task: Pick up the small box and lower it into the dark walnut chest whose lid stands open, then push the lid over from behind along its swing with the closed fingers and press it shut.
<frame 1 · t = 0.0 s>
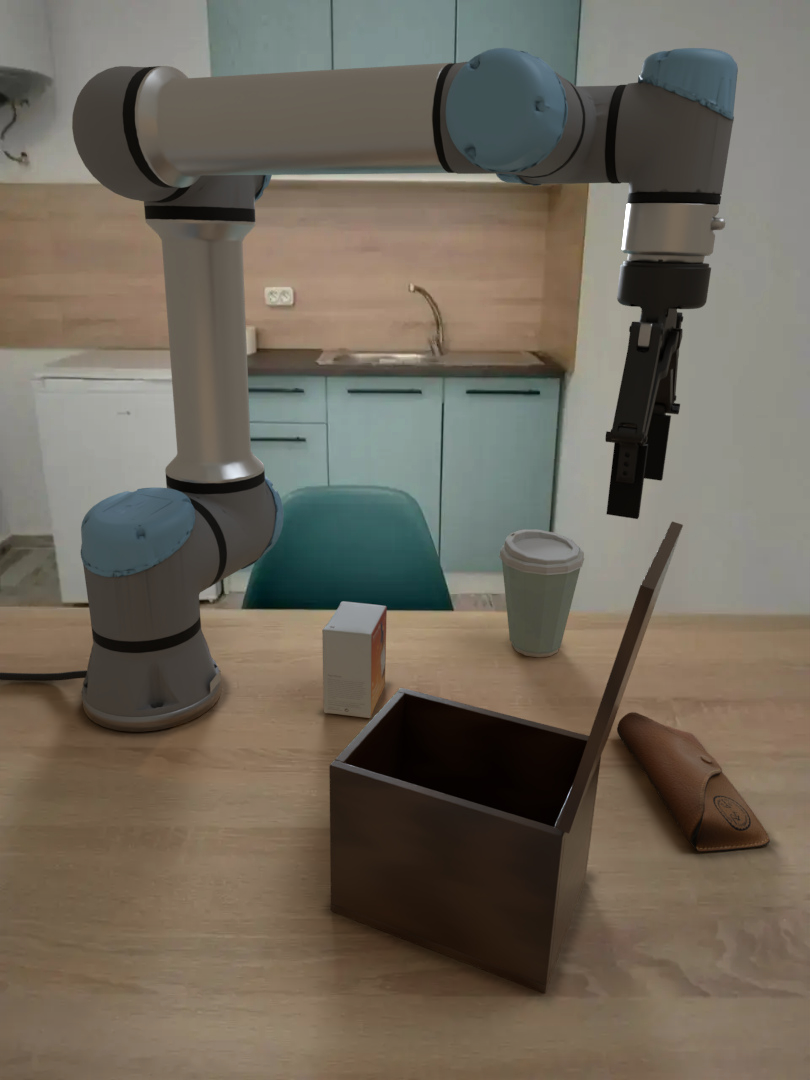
hand: (636, 495, 78), 28 cm above the table, tool pointing down, fingers open, 13 cm apart
lid: (622, 672, 56), point 23 cm above the table, hinge at 100.0°
chest: (461, 894, 68), on the table
small box: (355, 700, 96), on the table
disposable coffee cup: (534, 648, 109), on the table
sunglasses case: (686, 789, 82), on the table
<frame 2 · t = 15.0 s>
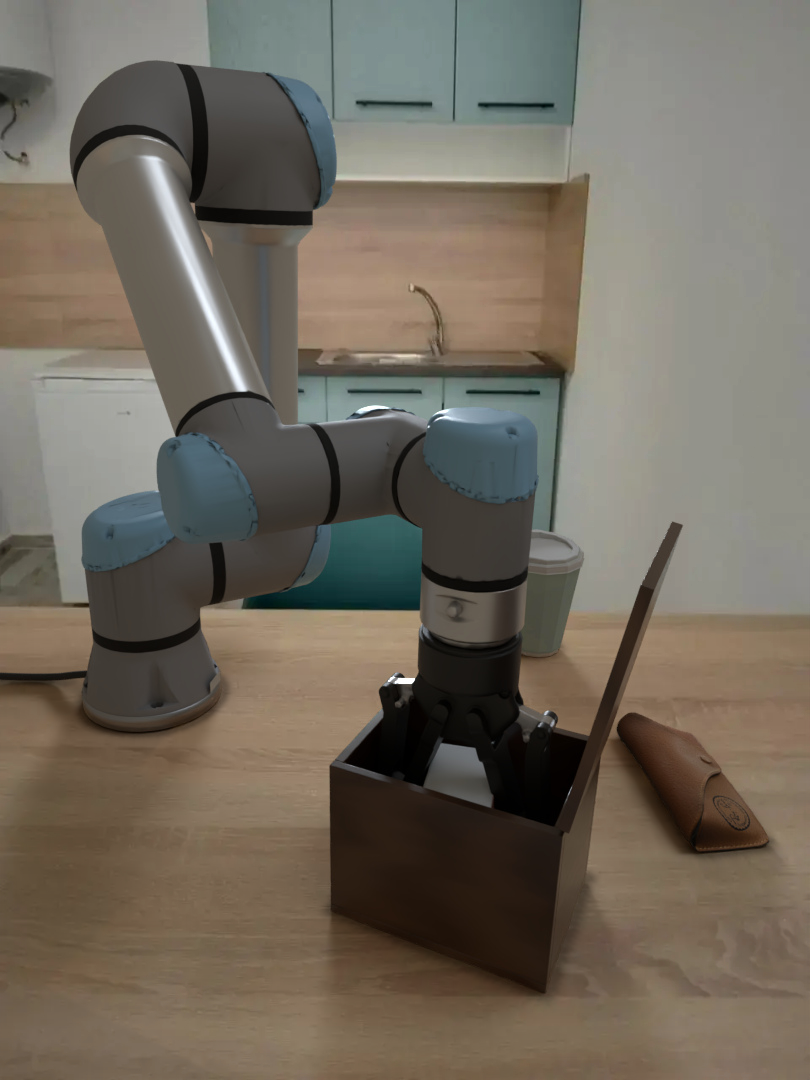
hand: (455, 878, 68), 1 cm above the table, tool pointing down, fingers closed on small box, 6 cm apart
small box: (455, 883, 68), point 1 cm above the table, touching gripper
everything else where it was.
when the fingers open (4 cm above the table, at t = 26.6 s): small box drops 2 cm, resting on chest.
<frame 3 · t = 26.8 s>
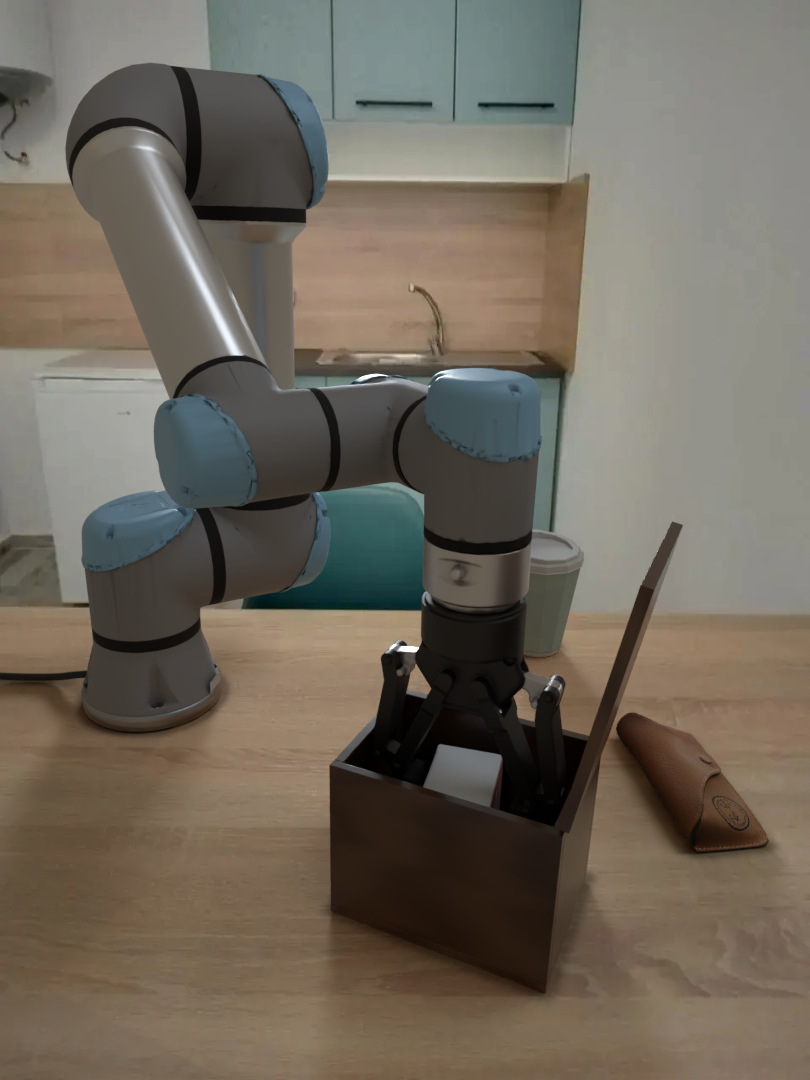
hand: (461, 851, 67), 4 cm above the table, tool pointing down, fingers open, 8 cm apart
small box: (456, 884, 68), point 1 cm above the table, touching chest
everything else where it was.
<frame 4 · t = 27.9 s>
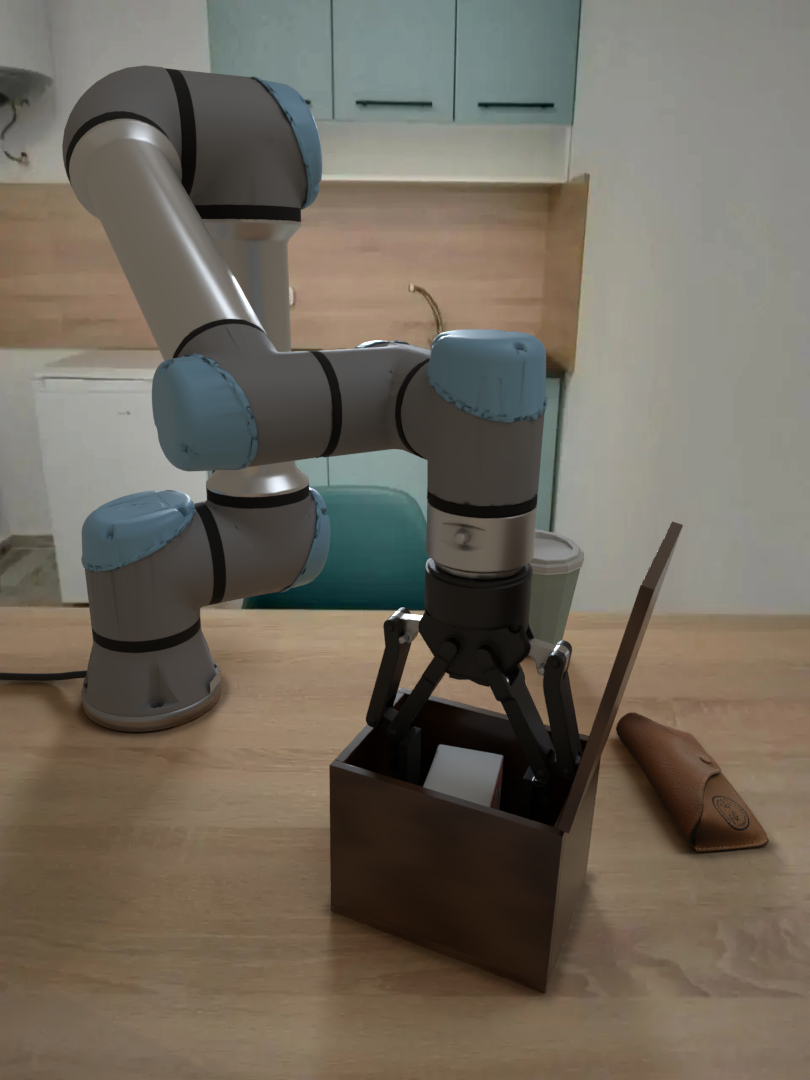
hand: (466, 821, 66), 7 cm above the table, tool pointing down, fingers open, 9 cm apart
nothing on the table moved.
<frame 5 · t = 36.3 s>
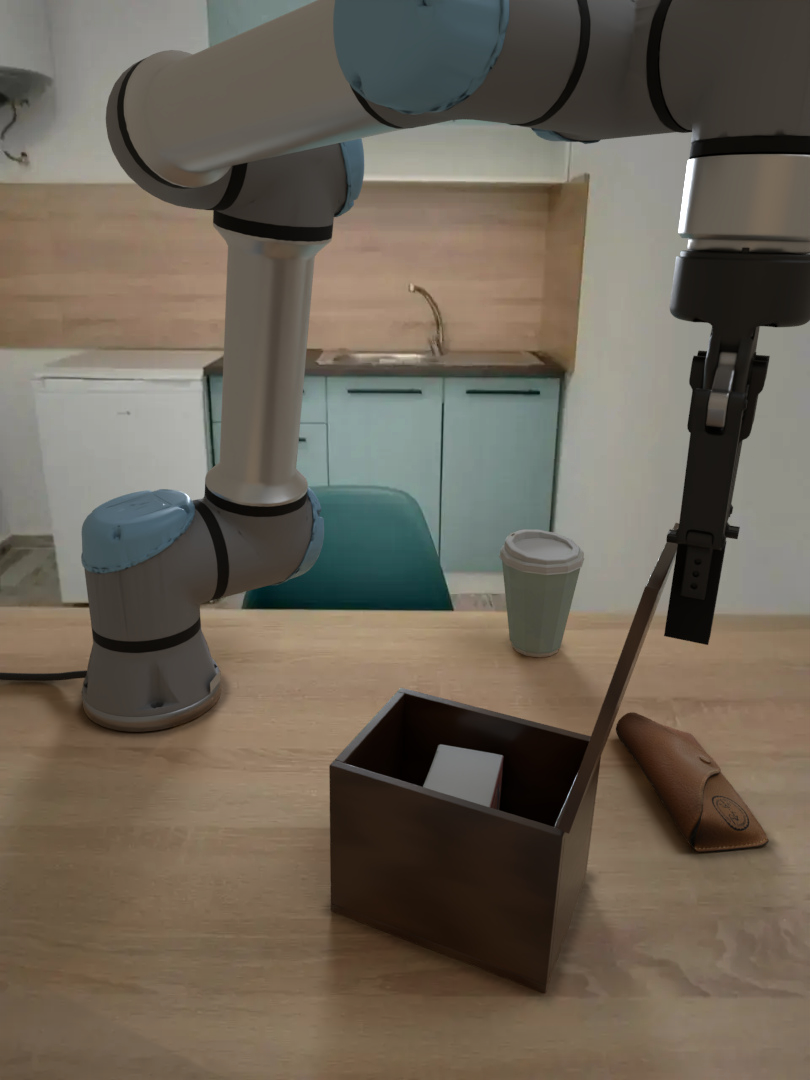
hand: (687, 635, 53), 27 cm above the table, tool pointing down, fingers closed
lid: (624, 673, 56), point 23 cm above the table, hinge at 100.8°, touching gripper
everything else where it was.
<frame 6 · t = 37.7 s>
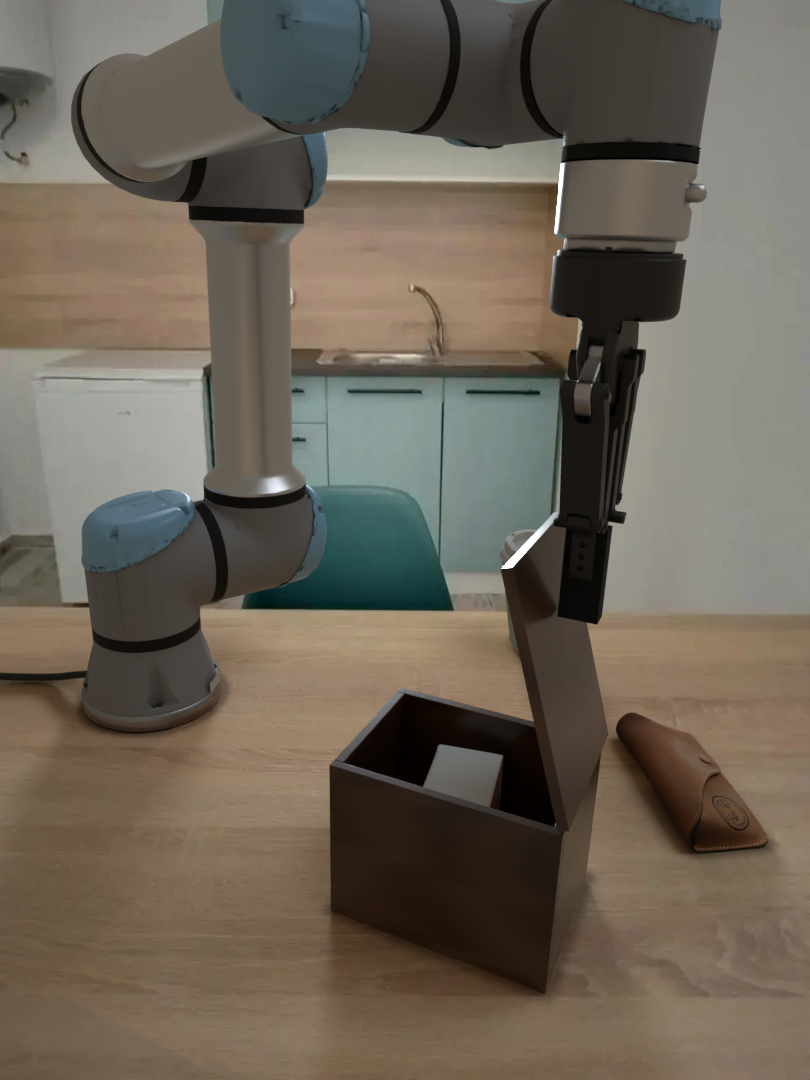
hand: (579, 616, 56), 27 cm above the table, tool pointing down, fingers closed
lid: (561, 662, 58), point 23 cm above the table, hinge at 73.8°, touching gripper
everything else where it was.
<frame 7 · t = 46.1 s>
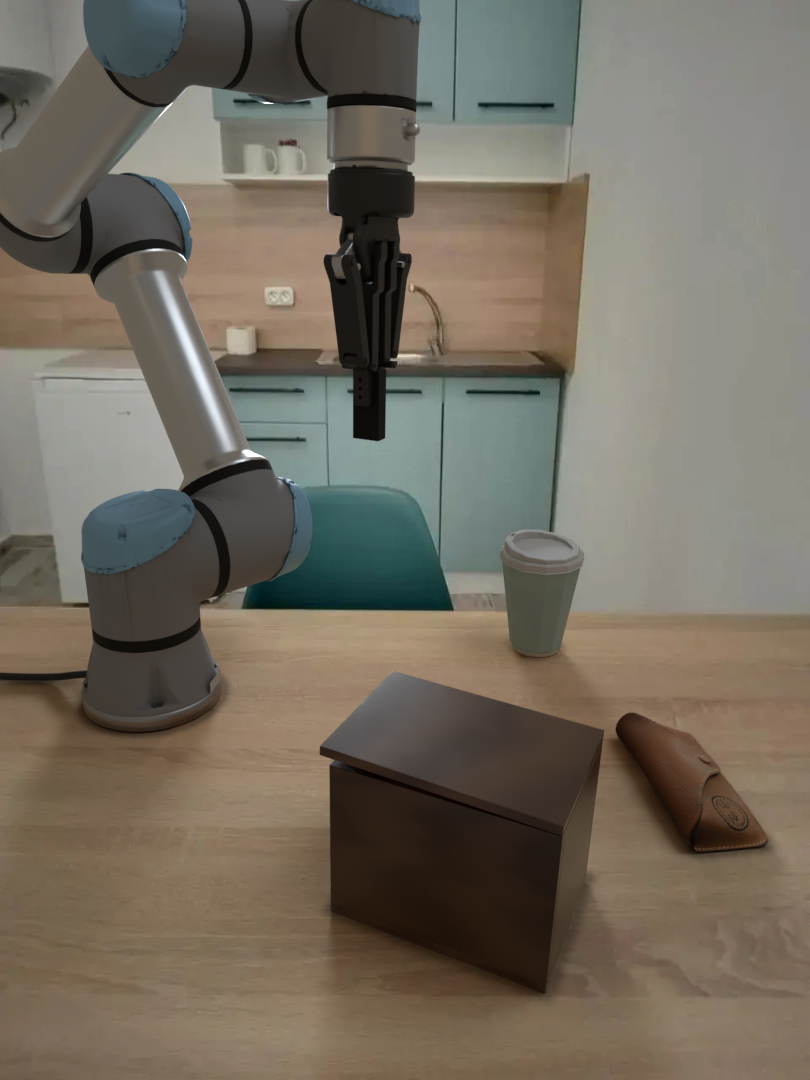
hand: (369, 437, 79), 32 cm above the table, tool pointing down, fingers closed
lid: (466, 742, 63), point 15 cm above the table, hinge at 1.8°
everything else where it was.
at the end: small box inside the target area in the chest (0.6 cm from its centre), point 0.6 cm above the chest's base; lid at +2° (first picture: +100°) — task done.
